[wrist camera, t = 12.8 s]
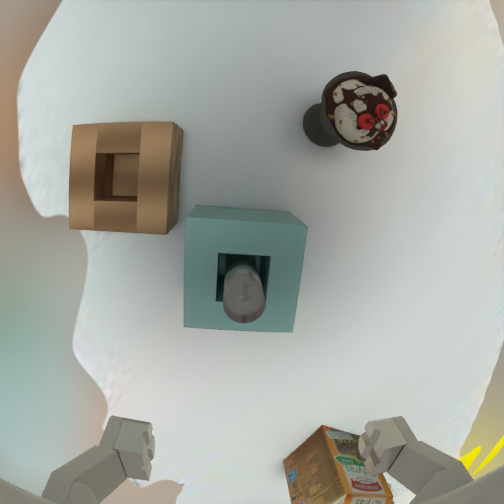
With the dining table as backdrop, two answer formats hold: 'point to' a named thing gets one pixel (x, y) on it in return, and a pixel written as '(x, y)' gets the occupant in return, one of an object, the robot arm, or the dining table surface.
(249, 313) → the peg
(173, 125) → the socket
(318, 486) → the milk carton
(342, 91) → the sundae
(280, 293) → the teal storage box
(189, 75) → the dining table surface
